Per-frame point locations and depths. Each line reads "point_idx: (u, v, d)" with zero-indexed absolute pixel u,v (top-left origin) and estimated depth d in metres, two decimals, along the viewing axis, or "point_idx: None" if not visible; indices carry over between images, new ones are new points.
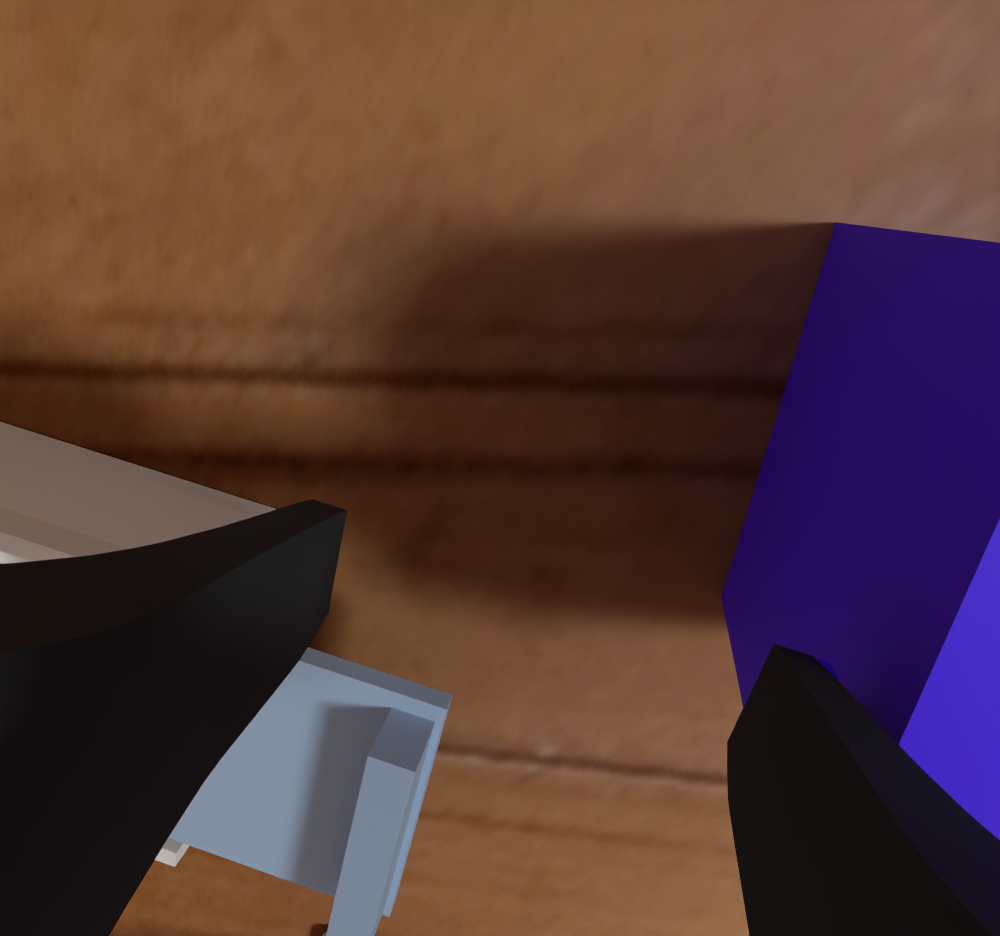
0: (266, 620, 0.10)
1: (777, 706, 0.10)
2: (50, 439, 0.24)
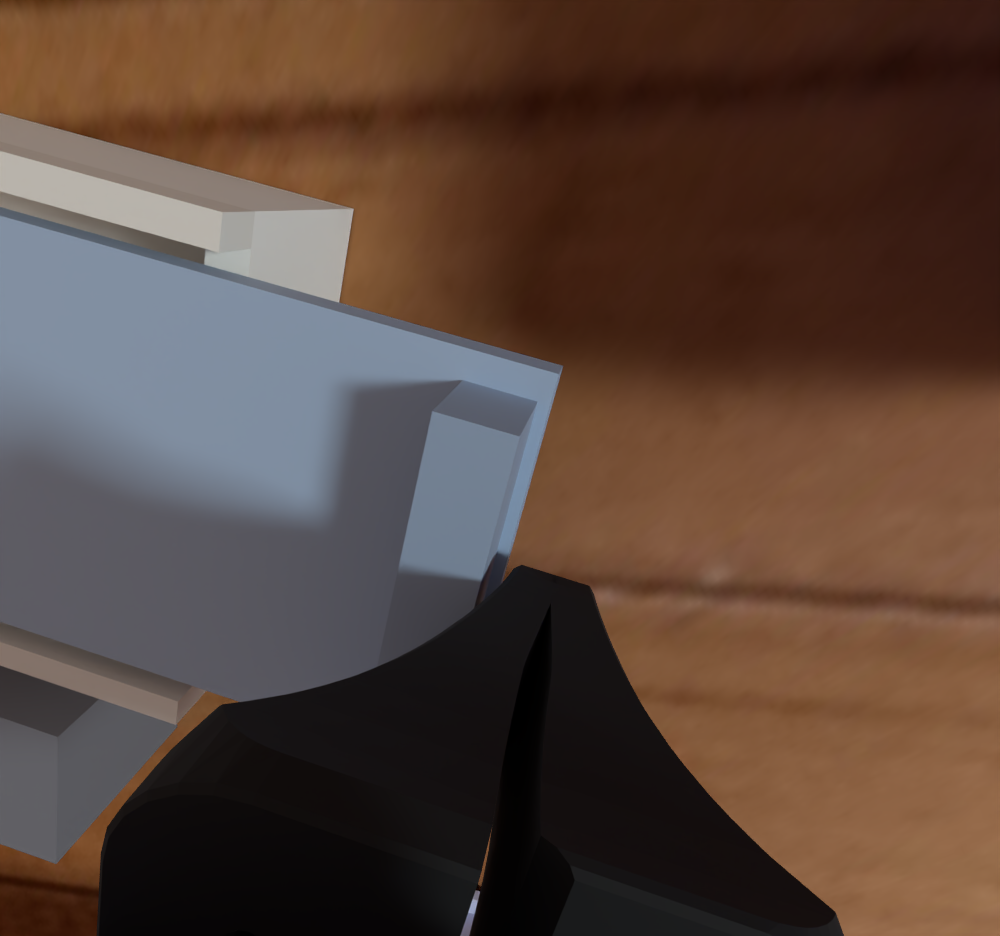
0: (515, 702, 0.10)
1: None
2: None
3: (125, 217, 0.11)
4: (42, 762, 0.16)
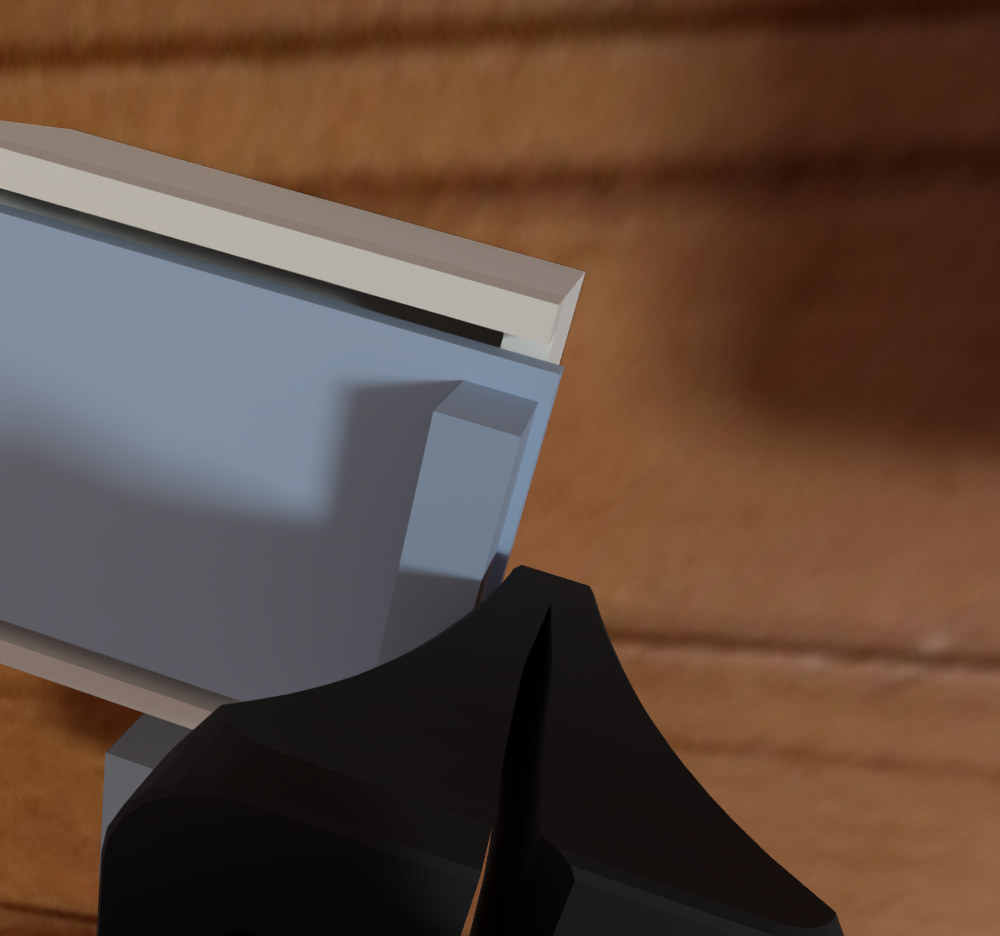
0: (515, 701, 0.10)
1: None
2: (204, 166, 0.16)
3: (448, 306, 0.11)
4: None
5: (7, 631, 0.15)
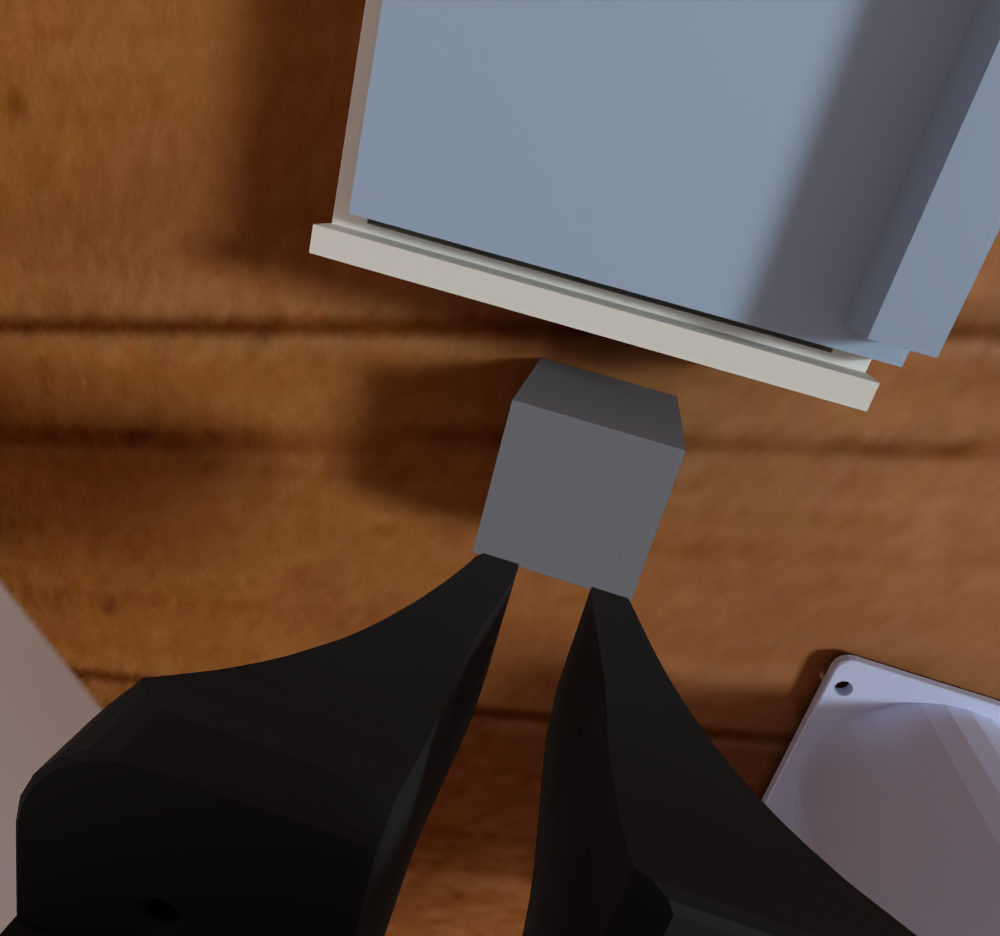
0: (469, 687, 0.10)
1: (581, 643, 0.11)
2: None
3: None
4: (656, 482, 0.16)
5: (443, 258, 0.15)
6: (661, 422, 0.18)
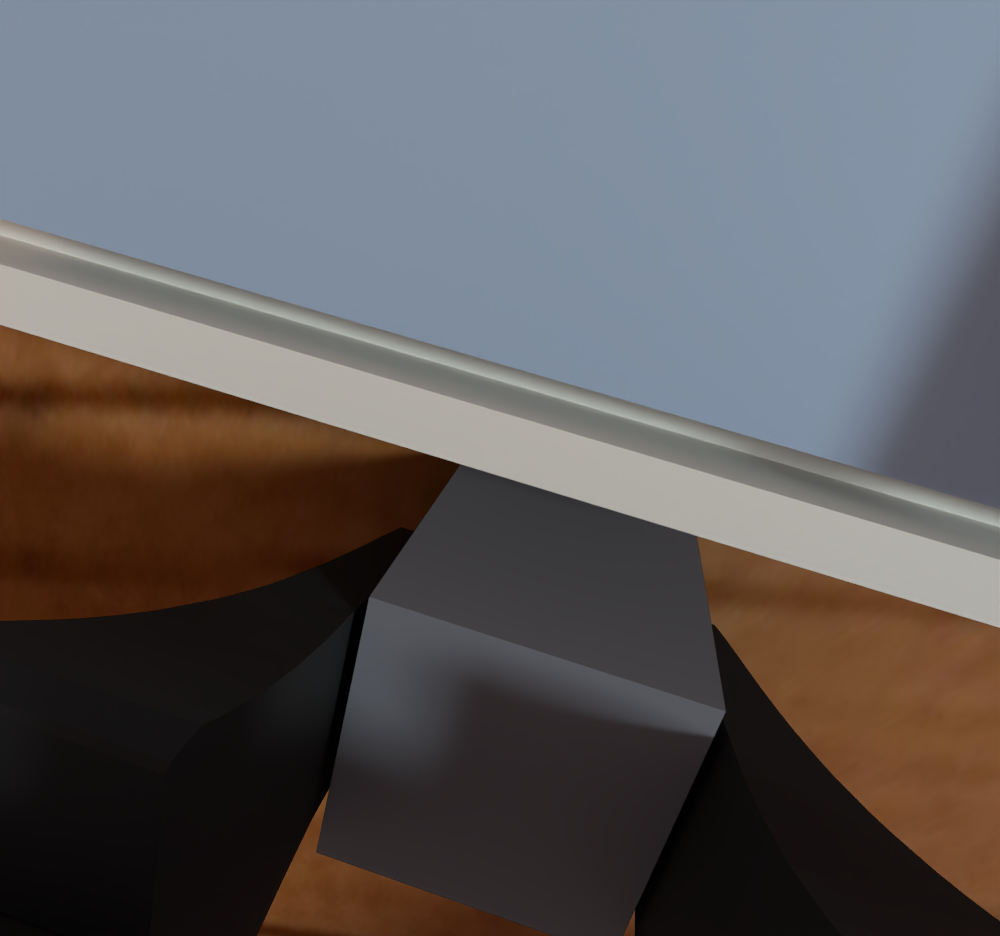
0: None
1: None
2: None
3: None
4: (664, 764, 0.08)
5: (201, 314, 0.07)
6: (671, 611, 0.09)
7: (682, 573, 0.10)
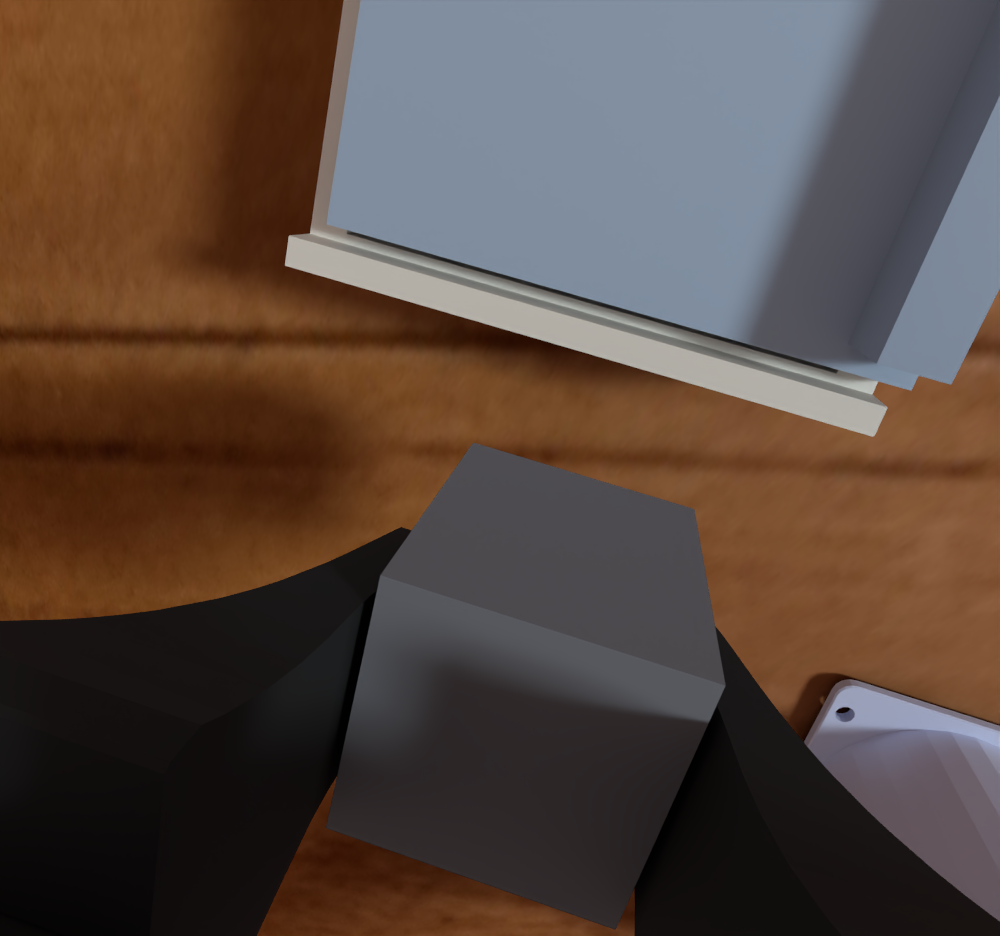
0: None
1: None
2: None
3: None
4: (665, 738, 0.08)
5: (427, 272, 0.15)
6: (672, 593, 0.10)
7: (683, 558, 0.11)
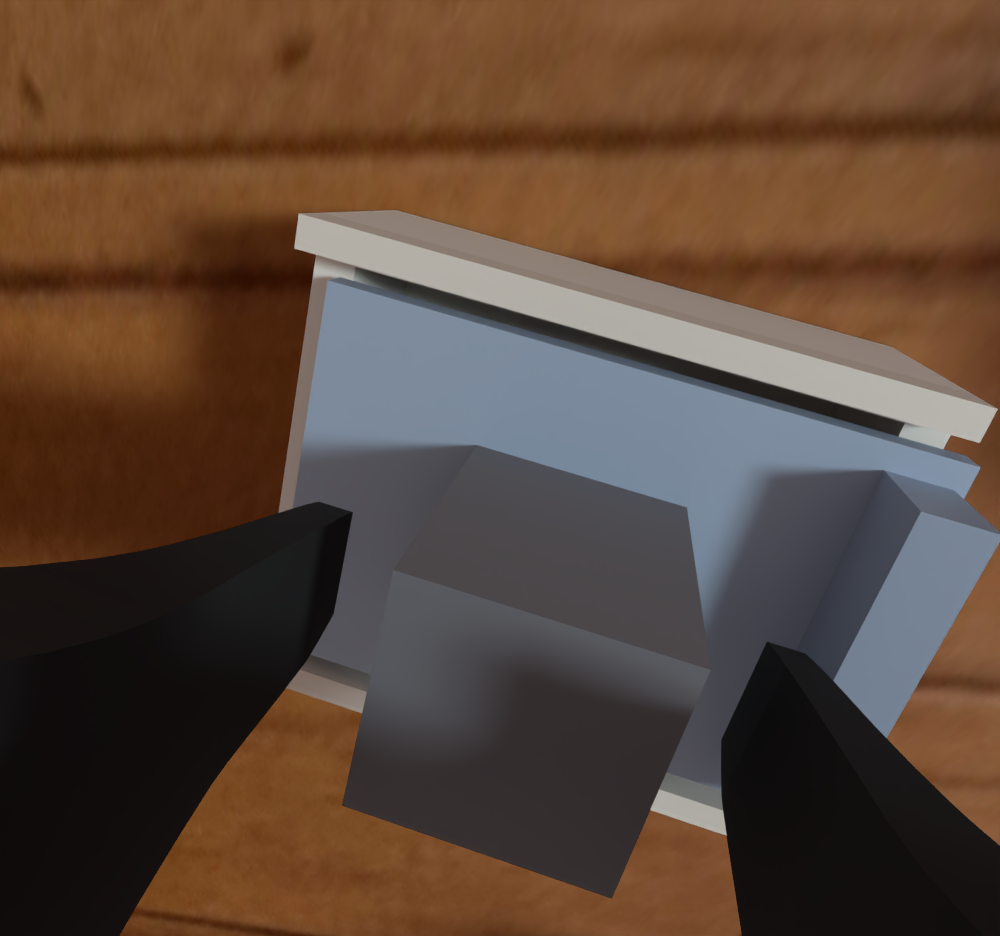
0: (274, 622, 0.10)
1: (770, 704, 0.10)
2: (526, 246, 0.17)
3: (887, 407, 0.12)
4: (656, 718, 0.09)
5: (365, 682, 0.16)
6: (664, 585, 0.10)
7: (674, 553, 0.11)
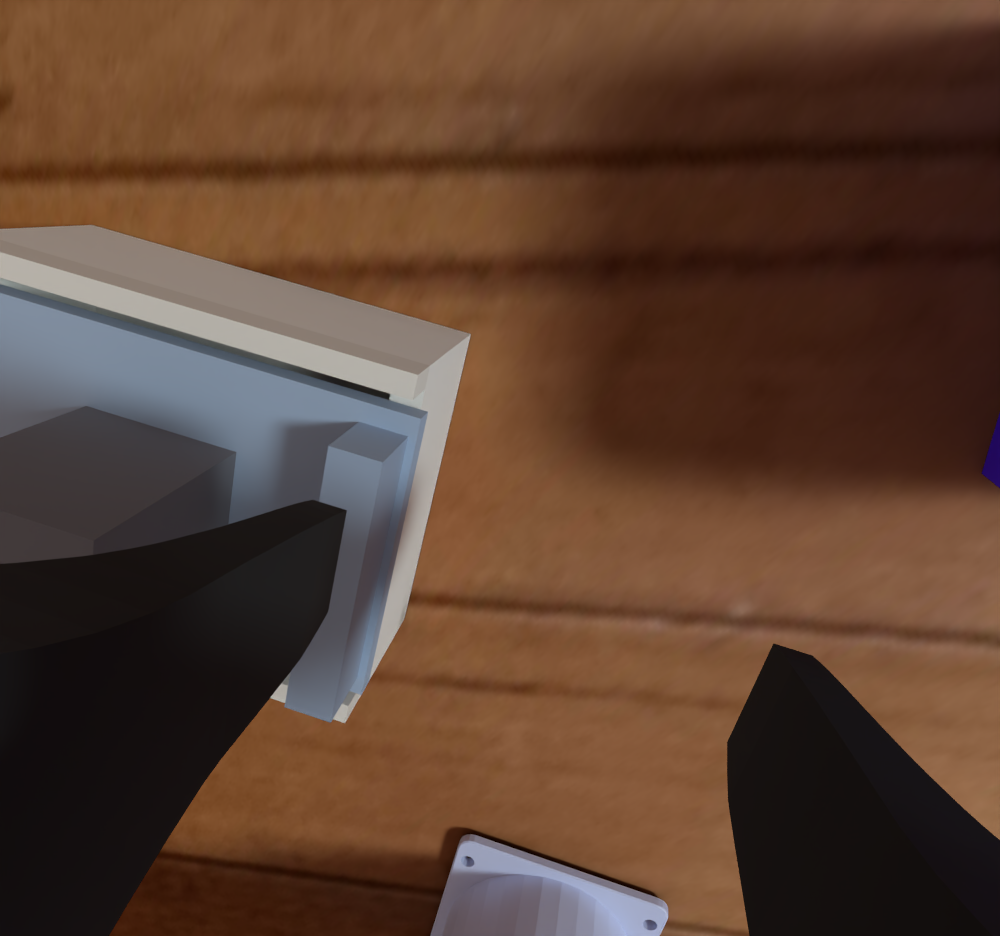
0: (267, 620, 0.10)
1: (777, 706, 0.10)
2: (190, 254, 0.22)
3: (347, 374, 0.16)
4: None
5: None
6: (129, 496, 0.15)
7: (173, 478, 0.16)
